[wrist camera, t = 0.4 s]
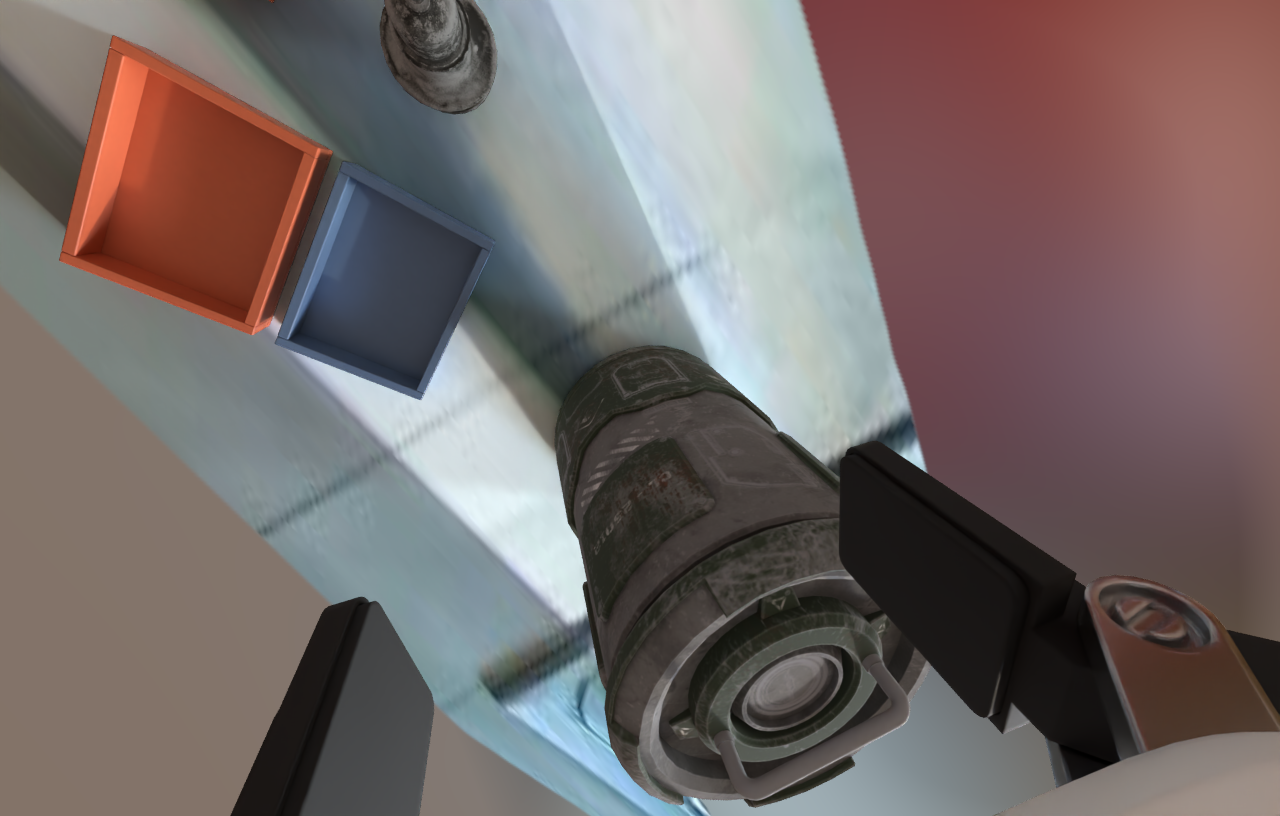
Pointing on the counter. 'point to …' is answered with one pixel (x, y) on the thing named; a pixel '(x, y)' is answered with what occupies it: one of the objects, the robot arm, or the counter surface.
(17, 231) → the counter surface
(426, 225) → the blue tray
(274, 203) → the terracotta tray
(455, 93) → the dark chess piece
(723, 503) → the canister
